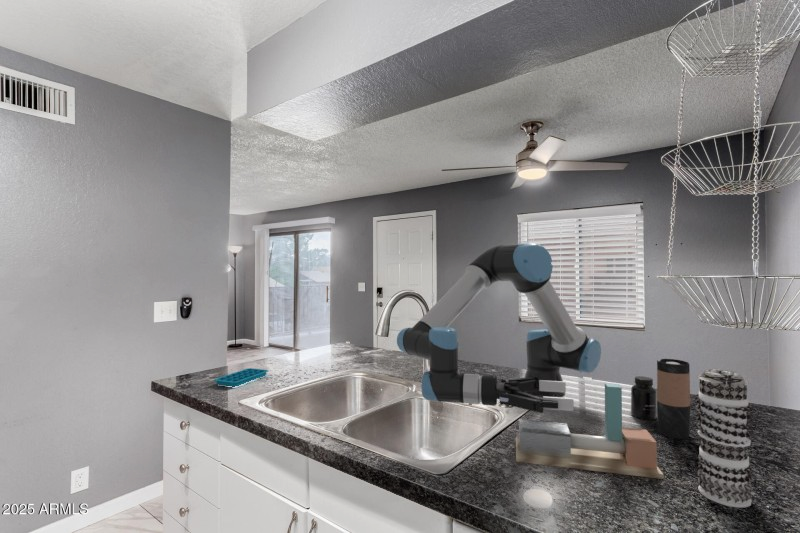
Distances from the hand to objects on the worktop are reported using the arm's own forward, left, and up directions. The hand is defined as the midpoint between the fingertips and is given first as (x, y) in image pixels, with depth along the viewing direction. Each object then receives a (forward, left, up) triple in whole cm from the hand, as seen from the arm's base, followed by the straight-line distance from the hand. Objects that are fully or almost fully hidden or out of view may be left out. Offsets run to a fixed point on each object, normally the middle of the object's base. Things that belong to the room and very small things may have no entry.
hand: (569, 395), depth 98 cm
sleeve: (0, -6, -14) cm, 15 cm away
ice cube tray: (-37, -122, -16) cm, 129 cm away
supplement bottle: (-34, +26, -15) cm, 45 cm away
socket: (0, +15, -14) cm, 20 cm away
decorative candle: (+10, +28, -15) cm, 33 cm away
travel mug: (-22, +30, -15) cm, 40 cm away
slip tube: (0, +7, -13) cm, 15 cm away
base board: (0, +3, -15) cm, 15 cm away
